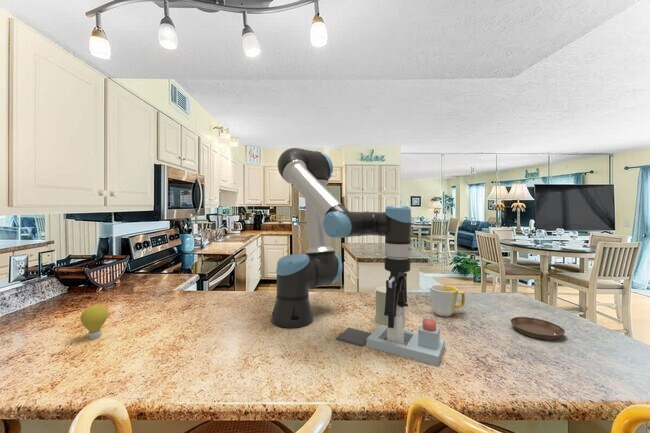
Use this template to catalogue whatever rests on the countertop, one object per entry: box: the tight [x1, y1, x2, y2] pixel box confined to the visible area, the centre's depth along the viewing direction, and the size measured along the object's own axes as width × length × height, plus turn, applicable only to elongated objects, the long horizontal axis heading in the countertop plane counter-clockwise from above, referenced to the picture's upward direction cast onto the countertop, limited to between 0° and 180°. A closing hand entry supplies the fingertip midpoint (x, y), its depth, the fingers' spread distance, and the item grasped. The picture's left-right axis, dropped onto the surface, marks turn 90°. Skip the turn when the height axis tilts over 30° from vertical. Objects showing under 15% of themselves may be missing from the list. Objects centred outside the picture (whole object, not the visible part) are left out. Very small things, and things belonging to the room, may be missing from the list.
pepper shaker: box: [386, 308, 406, 345], centre depth 87 cm, size 5×5×11 cm
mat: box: [335, 327, 373, 347], centre depth 91 cm, size 9×9×1 cm
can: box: [374, 285, 398, 326], centre depth 105 cm, size 9×9×12 cm
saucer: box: [510, 316, 566, 341], centre depth 97 cm, size 15×15×3 cm
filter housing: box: [366, 323, 446, 367], centre depth 85 cm, size 20×12×7 cm, turn 60°
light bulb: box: [79, 304, 109, 340], centre depth 89 cm, size 7×7×10 cm
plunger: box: [422, 318, 437, 331], centre depth 82 cm, size 4×4×2 cm
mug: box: [429, 283, 466, 317], centre depth 113 cm, size 14×10×10 cm
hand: (396, 332), depth 87 cm, fingers open, 8 cm apart
